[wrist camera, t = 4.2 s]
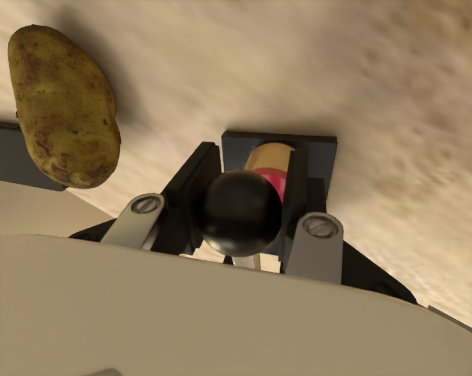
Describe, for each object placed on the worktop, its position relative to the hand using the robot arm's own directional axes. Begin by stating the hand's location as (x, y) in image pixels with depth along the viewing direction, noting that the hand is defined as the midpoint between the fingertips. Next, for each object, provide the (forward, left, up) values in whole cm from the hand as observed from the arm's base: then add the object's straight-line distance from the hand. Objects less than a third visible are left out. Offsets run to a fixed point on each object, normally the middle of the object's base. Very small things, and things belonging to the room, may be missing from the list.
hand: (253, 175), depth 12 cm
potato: (0, -18, -12) cm, 22 cm away
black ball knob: (+5, 0, 0) cm, 5 cm away
